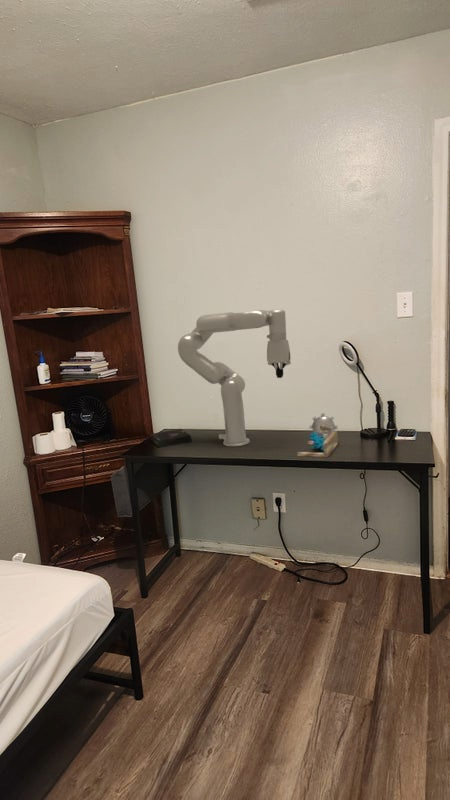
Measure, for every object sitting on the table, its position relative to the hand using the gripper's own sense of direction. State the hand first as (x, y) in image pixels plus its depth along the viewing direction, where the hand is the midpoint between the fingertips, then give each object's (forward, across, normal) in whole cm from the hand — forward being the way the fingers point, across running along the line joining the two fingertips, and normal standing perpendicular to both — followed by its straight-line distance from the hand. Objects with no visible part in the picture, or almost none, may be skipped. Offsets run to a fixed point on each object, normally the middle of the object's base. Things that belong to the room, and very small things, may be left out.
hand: (279, 377), depth 236 cm
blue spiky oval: (+31, +20, -9) cm, 38 cm away
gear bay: (+30, +20, -9) cm, 37 cm away
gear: (+30, +19, +3) cm, 36 cm away
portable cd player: (+33, -58, -6) cm, 67 cm away
